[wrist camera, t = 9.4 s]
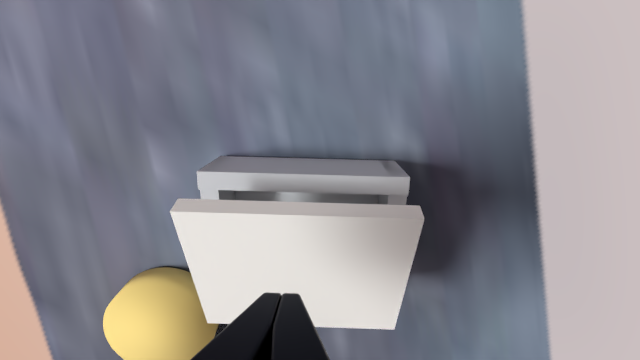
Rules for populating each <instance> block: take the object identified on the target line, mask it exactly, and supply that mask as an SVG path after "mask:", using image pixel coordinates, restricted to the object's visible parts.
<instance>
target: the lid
mask: <svg viewBox="0 0 640 360" xmlns="http://www.w3.org/2000/svg"><path fill="white" fill-rule="evenodd" d="M170 213H171V216H172V219H173V222H174V225H175V228H176V231H177V234H178V237H179V240H180V243H181V246H182V249H183V252H184V255H185V258H186V261H187V264H188V267H189V270H190V273H191V276H192V279H193V282H194V284H195V287H196V290H197V293H198V296H199V299H200V302H201V305H202V308H203V311H204V314H205V317H206V320H207V323H216V324H230V323H231V322H232V321H233V320H234V319H236V318H237V317H238V316H239V315H240V314H241V313H242V312H243V311H244V310H245V309H247V308H248V307H249V306H250V305H251V304H252V303H253V302H254V301H255V300H256V299H258V298H259V297H260V296H261V295H262V294H263V293H265V292H270V293H280V294H281V295H282V294H284V293H298V294H299V295H300V296H301V298H302V300H303V303H304V305H305V307H306V309H307V311H308V313H309V316H310V318H311V320H312V322H313V324H314V326H315V327H335V328H364V329H395V325H396V321H397V318H398V314H399V310H400V307H401V303H402V299H403V296H404V292H405V288H406V285H407V281H408V278H409V274H410V270H411V267H412V263H413V259H414V256H415V252H416V248H417V245H418V241H419V237H420V234H421V230H422V227H423V223H424V216H423V213H422V210H421V207H420V206H417V205H382V204H348V203H314V202H279V201H245V200H210V199H177V201H176V203H175V204H174V206H173V207H172V209H171V211H170Z"/></svg>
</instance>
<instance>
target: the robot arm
mask: <svg viewBox="0 0 640 360" xmlns="http://www.w3.org/2000/svg"><path fill="white" fill-rule="evenodd" d="M190 360H330V359H329V357H328V354H327V352H326V350H325V348H324V346H323V344H322V341H321V339H320V337H319V335H318V333H317V331H316V328H315V326H314V324H313V322H312V320H311V318H310V316H309V313H308V311H307V309H306V307H305V305H304V303H303V300H302V298H301V296H300V295H299V294H298V293H284V294H282V295H281V294H280V293H270V292H265V293H263V294H262V295H261V296H260V297H259V298H258V299H256V300H255V301H254V302H253V303H252V304H251V305H250V306H249V307H248V308H247V309H245V310H244V311H243V312H242V313H241V314H240V315H239V316H238V317H237V318H236V319H234V320H233V321H232V322H231V323H230V324H229V325H228V326H227V327H226V328H225V329H223V330H222V331H221V332H220V333H219V334H218V335H217V336H216V337H215V338H214V339H212V340H211V341H210V342H209V343H208V344H207V345H206V346H205V347H204V348H203V349H201V350H200V351H199V352H198V353H197V354H196V355H195V356H194V357H193V358H192V359H190Z"/></svg>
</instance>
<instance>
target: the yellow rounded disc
mask: <svg viewBox="0 0 640 360" xmlns="http://www.w3.org/2000/svg"><path fill="white" fill-rule="evenodd" d="M218 325H219V324H216V323H207V320H206V317H205V314H204V311H203V308H202V305H201V302H200V299H199V296H198V293H197V290H196V287H195V284H194V282H193V279H192V276H191V273H190V272H188V271H185V270H181V269H177V268H169V267H161V268H153V269H149V270H146V271H143V272H141V273H139V274H137V275H136V276H134V277H133V278H132V279H131V280H130V281H129V282H128V283H127V284H126V285H125V286H124V287H123V288H122V290H121V291H120V292H119V293H118V294H117V295H116V296H115V297H114V299H113V300H112V301H111V302H110V303H109V305H108V307H107V308H106V311H105V314H104V318H103V328H104V333H105V336H106V338H107V341H108V343H109V344H110V346H111V347H112V348H113V350H114V351H115V352H116V353H117V354H118V355H119V356H120V357H122V358H123V359H124V360H190V359H192V358H193V357H194V356H195V355H196V354H197V353H198V352H199V351H200V350H201V349H203V348H204V347H205V346H206V345H207V344H208V343H209V342H210V341H211V340H212V339H214V336H215V334H216V331H217V328H218Z"/></svg>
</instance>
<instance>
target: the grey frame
mask: <svg viewBox="0 0 640 360" xmlns="http://www.w3.org/2000/svg"><path fill="white" fill-rule="evenodd" d="M197 181H198V189H199V190H200V194H201V199H210V200H245V201H279V202H314V203H348V204H382V205H406V201H407V195H408V194H409V184H410V177H409V176H408V174H407V173H406V172H405V171H404V170H403V169H402V168H401V167H400V166H399V165H398V164H397V163H396V162H395V161H386V160H349V159H313V158H276V157H240V156H220V157H218V158H217V159H215V160H214V161H212V162H211V163H209V164H207V165H206V166H204V167H203V168H201V169H200V170H198V171H197Z"/></svg>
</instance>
